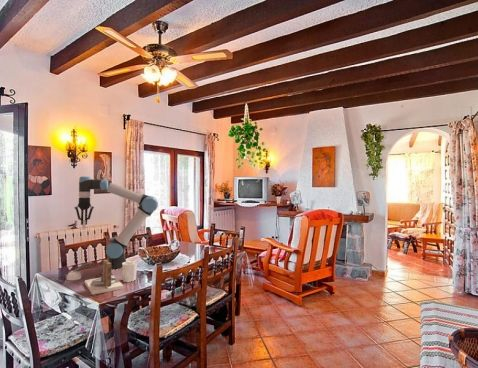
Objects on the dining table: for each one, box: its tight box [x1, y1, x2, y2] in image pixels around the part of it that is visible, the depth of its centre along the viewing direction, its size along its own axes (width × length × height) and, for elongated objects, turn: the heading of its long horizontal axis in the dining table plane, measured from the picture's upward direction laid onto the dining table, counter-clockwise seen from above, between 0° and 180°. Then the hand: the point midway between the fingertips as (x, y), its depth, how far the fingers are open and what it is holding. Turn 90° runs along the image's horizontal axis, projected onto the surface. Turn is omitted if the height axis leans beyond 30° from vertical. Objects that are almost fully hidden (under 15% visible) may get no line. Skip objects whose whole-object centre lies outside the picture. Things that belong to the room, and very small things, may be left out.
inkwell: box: [66, 262, 96, 281], centre depth 203 cm, size 9×18×10 cm, turn 123°
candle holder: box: [121, 260, 138, 283], centre depth 199 cm, size 10×10×12 cm
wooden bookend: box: [92, 259, 116, 287], centre depth 185 cm, size 20×14×15 cm
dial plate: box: [84, 275, 124, 295], centre depth 187 cm, size 18×24×2 cm
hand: (83, 229), depth 213 cm, fingers closed
